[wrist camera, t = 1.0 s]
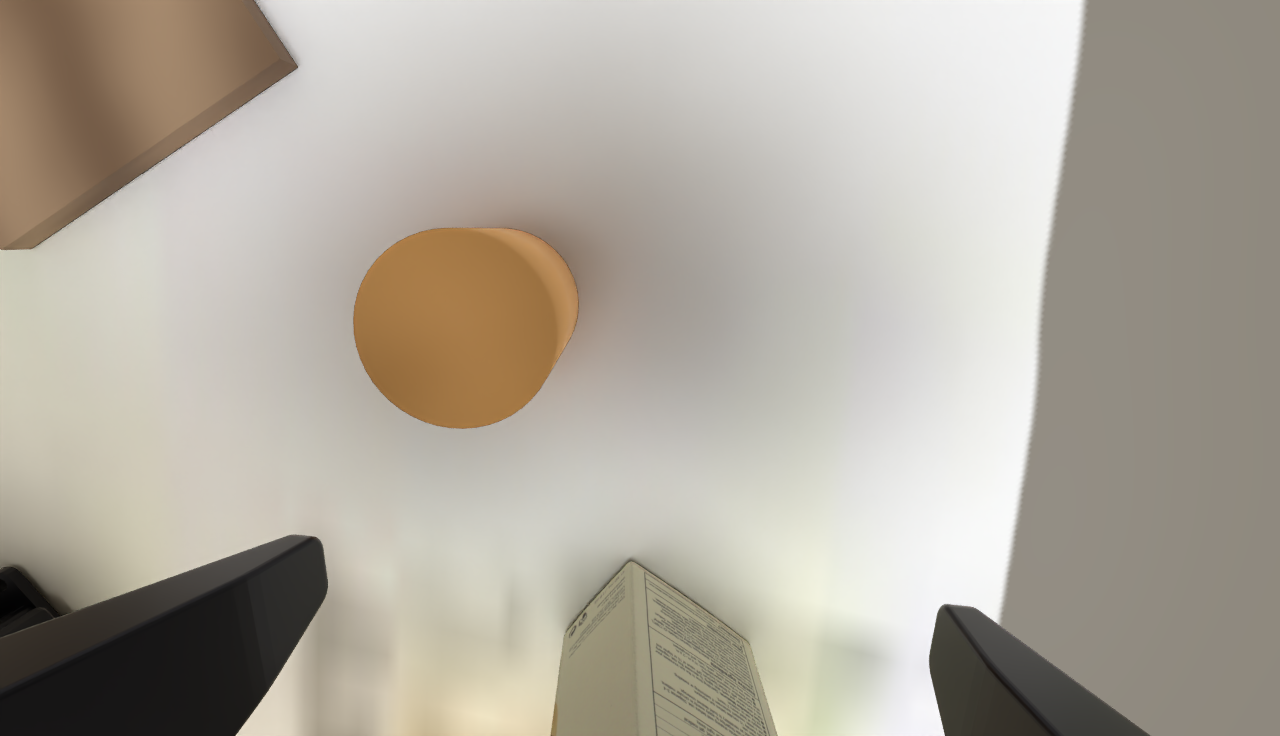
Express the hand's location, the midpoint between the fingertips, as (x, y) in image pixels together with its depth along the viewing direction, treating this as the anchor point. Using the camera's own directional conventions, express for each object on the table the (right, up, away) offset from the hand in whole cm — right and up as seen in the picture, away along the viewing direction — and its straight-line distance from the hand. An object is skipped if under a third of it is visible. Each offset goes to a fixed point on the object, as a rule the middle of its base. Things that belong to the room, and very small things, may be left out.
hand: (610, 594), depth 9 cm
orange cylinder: (-4, +5, +12) cm, 14 cm away
